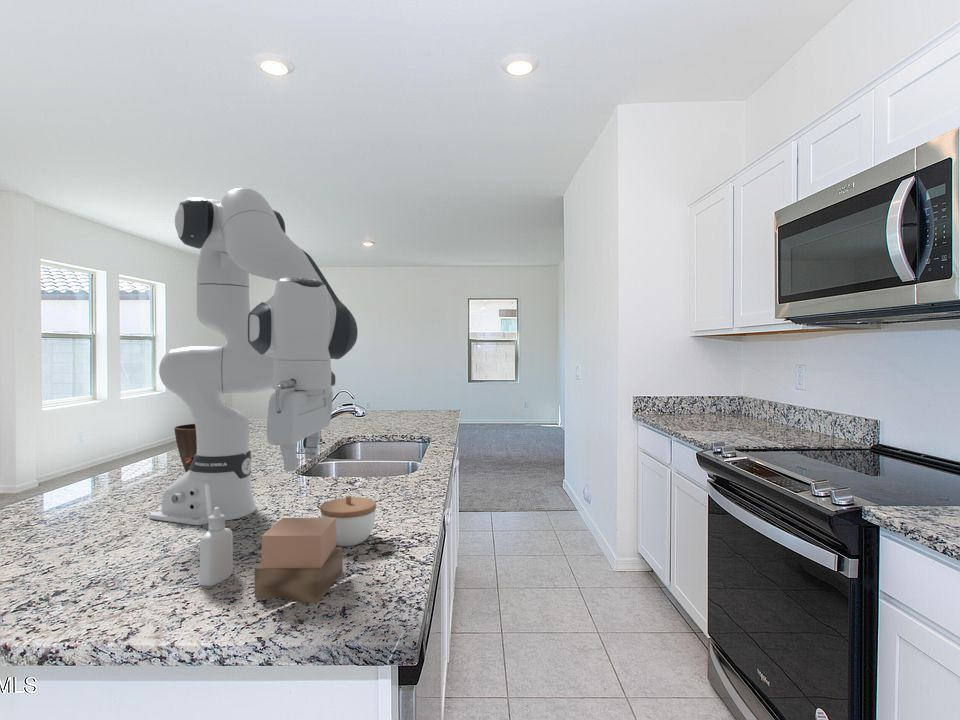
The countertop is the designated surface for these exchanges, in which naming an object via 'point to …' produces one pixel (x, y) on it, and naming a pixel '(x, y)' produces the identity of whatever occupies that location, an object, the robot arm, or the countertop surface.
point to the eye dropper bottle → (216, 551)
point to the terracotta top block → (299, 543)
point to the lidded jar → (350, 518)
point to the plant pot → (186, 443)
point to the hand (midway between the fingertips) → (301, 463)
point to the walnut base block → (298, 580)
